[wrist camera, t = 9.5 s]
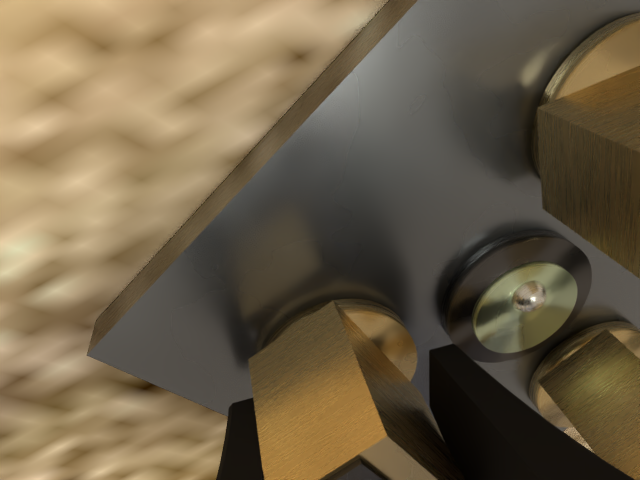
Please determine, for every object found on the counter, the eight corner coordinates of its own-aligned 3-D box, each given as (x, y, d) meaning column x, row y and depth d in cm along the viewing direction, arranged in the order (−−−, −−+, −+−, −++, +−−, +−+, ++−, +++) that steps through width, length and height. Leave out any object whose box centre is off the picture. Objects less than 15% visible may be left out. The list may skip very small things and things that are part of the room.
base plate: (774, 231, 16) (857, 271, 14) (436, 483, 19) (464, 543, 17) (608, -239, 8) (742, -305, 6) (96, 320, 11) (75, 395, 9)
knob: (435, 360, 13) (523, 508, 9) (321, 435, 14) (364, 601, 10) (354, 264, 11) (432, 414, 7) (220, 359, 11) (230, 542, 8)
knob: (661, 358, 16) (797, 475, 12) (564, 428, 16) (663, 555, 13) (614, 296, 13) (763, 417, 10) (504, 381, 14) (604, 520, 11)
